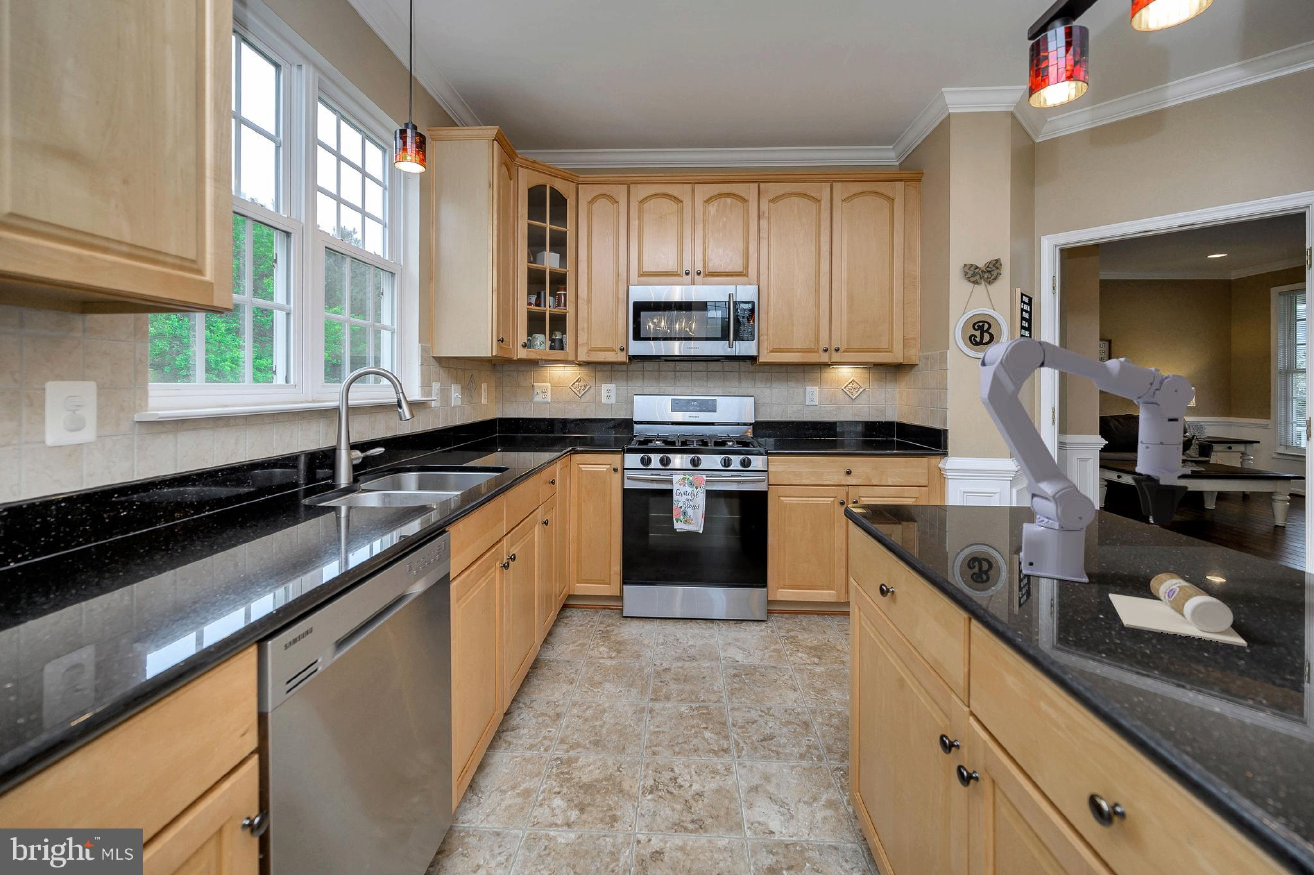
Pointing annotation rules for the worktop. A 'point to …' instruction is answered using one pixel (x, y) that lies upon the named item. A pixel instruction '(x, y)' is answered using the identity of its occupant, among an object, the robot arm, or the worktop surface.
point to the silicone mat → (1165, 620)
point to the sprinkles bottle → (1192, 603)
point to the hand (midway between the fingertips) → (1156, 519)
